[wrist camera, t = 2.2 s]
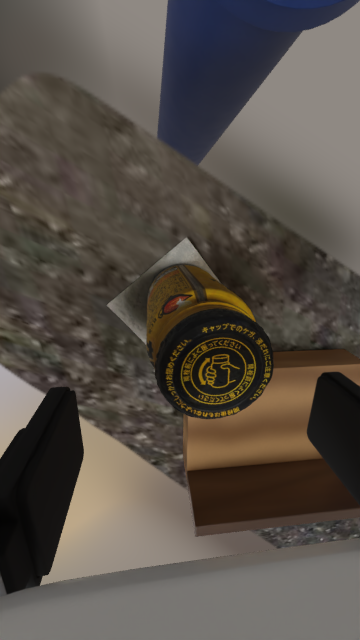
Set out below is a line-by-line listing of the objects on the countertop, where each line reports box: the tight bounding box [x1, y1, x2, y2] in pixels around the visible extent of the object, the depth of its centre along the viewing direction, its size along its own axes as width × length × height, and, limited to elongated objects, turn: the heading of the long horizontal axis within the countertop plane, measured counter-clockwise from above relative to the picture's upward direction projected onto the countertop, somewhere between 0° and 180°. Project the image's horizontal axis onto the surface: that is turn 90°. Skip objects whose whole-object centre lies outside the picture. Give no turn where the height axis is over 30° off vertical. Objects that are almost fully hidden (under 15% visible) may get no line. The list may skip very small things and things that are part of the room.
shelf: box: [183, 349, 360, 537], centre depth 23 cm, size 12×16×8 cm
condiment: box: [107, 237, 274, 419], centre depth 16 cm, size 7×8×12 cm
